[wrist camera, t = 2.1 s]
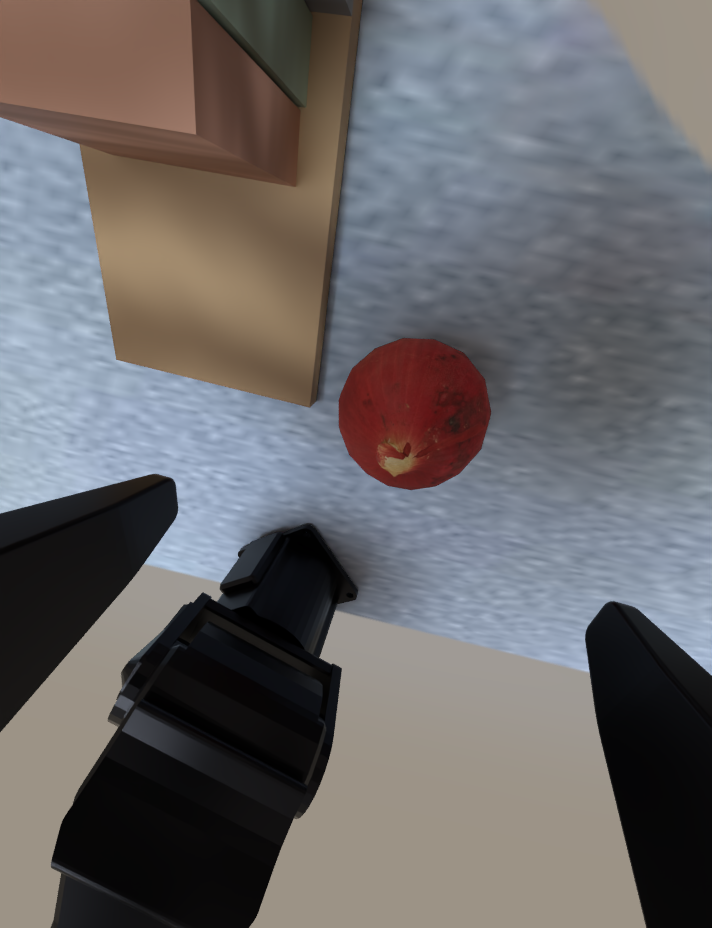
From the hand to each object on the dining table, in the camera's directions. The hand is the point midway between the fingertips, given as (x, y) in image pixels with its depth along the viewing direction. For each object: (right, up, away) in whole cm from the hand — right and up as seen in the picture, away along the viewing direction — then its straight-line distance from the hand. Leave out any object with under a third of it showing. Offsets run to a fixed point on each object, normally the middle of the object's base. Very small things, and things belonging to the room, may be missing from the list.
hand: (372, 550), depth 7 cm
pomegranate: (+3, +6, +10) cm, 12 cm away
